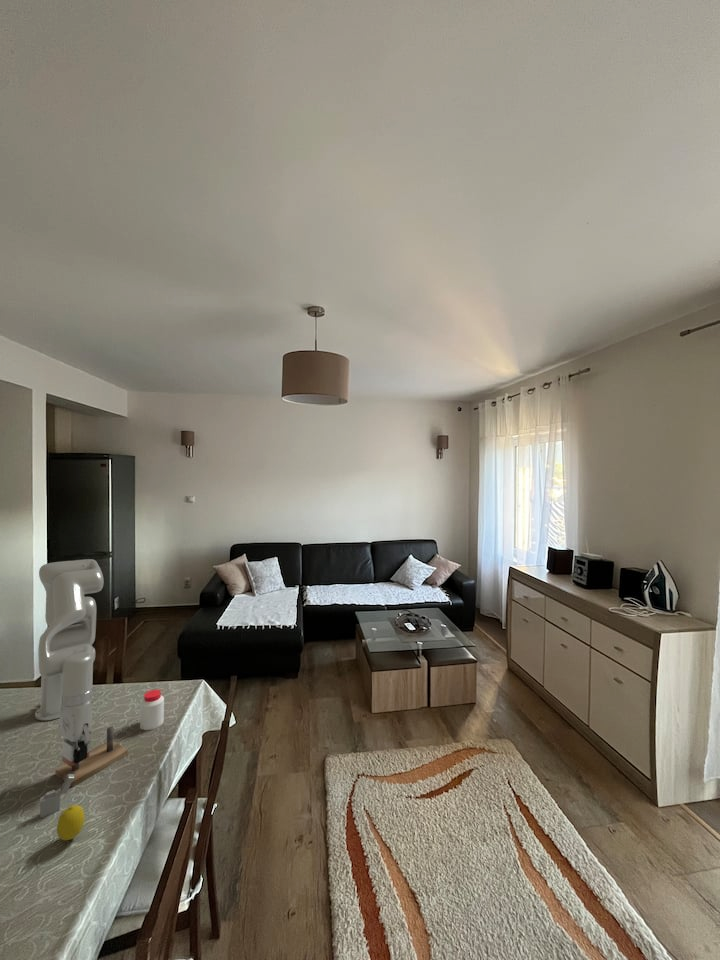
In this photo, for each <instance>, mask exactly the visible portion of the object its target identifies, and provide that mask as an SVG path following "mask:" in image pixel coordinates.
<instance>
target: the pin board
mask: <svg viewBox="0 0 720 960" xmlns="http://www.w3.org/2000/svg"><path fill="white" fill-rule="evenodd" d="M114 729H115V728H114V726H108V728H107V729H106V741H105V742H104V743H102V744H100V745H98V746H97V747H95V748H93V749H91V750H89V757H88V758H86V759H84V760H83V761H81V762H79V763H77V764H75V765H73V766H72V767H70V766H69V765H67V764H66V763H64V764H62V765H60V766H59V767H57V768H55V773H54V774H55V775H56V776H57V777H58V778H60V779H61V780H62V779H63V780H62V781H63V782H64V781H65V779H66V777H67V775H68V774H74V779H73V781H72V783H71V785H70V787H72V788H74V787H75V786H77V785H79V784H80V783H82V782H84V781H86V780H87V779H89V778H91V777H92V776H94V775H96V774H98V773H99V772H101V771H103V770H104V769H106V768H108V767H109V766H111V765H113V764H114V763H116V762H118V761H120V760H121V759H123V758H125V757H126V756H128V755H129V749H127V748H125V747H124V746H122V745H120V744H119V743H118V742H115V741H114V732H115V731H114Z"/></svg>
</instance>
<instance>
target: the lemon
mask: <svg viewBox="0 0 720 960" xmlns="http://www.w3.org/2000/svg"><path fill="white" fill-rule="evenodd" d="M85 819H86V817H85V810H84V809H83V807H82V806H81V805H78V804H75V805H71V806H69V807H67V808H66V809H64V811H63V812H62V813H61V814H60V815H59V817H58V821H57V824H56V834H57V836H58V838H60V840H63V841H69V840H72V839H74V838H75V837H77V836H78V834H79V833H80V832H81V831H82V829H83V827H84V824H85Z"/></svg>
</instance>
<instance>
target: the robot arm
mask: <svg viewBox="0 0 720 960" xmlns="http://www.w3.org/2000/svg"><path fill="white" fill-rule="evenodd" d="M38 574H39V575H38V577H39V580H40V582H41V584H42V585H43V587H44V590H45V616H44V617H45V623H46V625H47V626H48V627H46V629H45V630H44V632H43V633H41V635H40V637H39V642H38V651H37V653H38V654H37V656H38V657H37V658H38V670H39V671H38V672H39V674H40V676H41V679H40V682H41V684H40V707H39V708H38V709H37V710H35V713H34V717H35V720H38V721H43V722H44V721H51V720H56V719H59V721H58V733H59V735H60V736H61V737H63V740H65V739H68V740H70V741H71V742H76V750H75V756H74V763H75V764H77V763H79V762H81V761H83V760H84V759H86V758H87V746H88V743H89V742H91V741H92V736H91V735H92V731H93V711H92V699H93V681H94V680H93V678H94V677H93V676H94V675H93V673H94V662H95V660H96V649H95V647H94V646H93V644H94V642H95V641H96V640H95V639H96V629H97V603H96V600H95V598H93V597H91V596H85V595H89V594H95V593H99V592H101V591H102V589H103V587H104V583H105V582H104V574H103V572H102V569H101V567H100V566H99V564H98V562H97V560H95V559H91V558H87V559H86V558H85V559H75V560H65V561H64V560H63V561H55V562H49V563H44V564H43V565H41V566H40V568H39V571H38ZM82 734H83V736H81V735H82ZM83 738H84V741H83V742H81V743H80V742H79V740H81V739H83Z"/></svg>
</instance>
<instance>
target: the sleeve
mask: <svg viewBox="0 0 720 960" xmlns="http://www.w3.org/2000/svg"><path fill="white" fill-rule="evenodd" d="M81 736H83V734H82V735H81ZM83 741H84V738H83V739H81V740H79V742H80V743H81V742H83ZM90 742H91V741H90ZM90 742H89V743H88V746H87V758H88V757H89V751H90V744H91V743H90ZM61 750H62V752H61V754H62V755H61V761H62V762H63V763H64V764H67V765H69V766H70V767H72V766H73V765H75V763H74V756H75V750H76V742H71V741H70V740H68V739H65V740H64V739H63V740H62V749H61Z"/></svg>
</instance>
